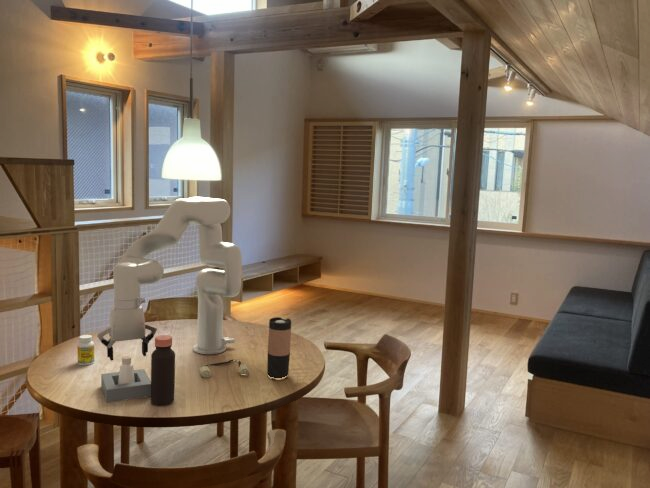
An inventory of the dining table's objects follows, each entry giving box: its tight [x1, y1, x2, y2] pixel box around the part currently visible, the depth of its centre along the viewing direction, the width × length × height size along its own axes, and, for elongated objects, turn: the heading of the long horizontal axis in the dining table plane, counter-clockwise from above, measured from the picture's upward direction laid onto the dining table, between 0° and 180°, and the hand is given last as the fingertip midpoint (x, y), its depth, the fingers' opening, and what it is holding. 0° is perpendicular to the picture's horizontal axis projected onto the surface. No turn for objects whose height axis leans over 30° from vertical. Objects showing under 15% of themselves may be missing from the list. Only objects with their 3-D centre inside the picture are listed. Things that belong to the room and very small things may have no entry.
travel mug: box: [266, 316, 292, 378], centre depth 189 cm, size 8×8×20 cm
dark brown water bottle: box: [150, 334, 176, 407], centre depth 164 cm, size 7×7×20 cm
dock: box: [100, 368, 151, 404], centre depth 171 cm, size 13×13×4 cm
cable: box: [199, 359, 250, 378], centre depth 193 cm, size 16×16×4 cm
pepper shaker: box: [118, 355, 135, 385], centre depth 170 cm, size 5×5×11 cm
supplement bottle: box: [77, 334, 95, 366], centre depth 191 cm, size 5×5×10 cm
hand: (127, 356), depth 170 cm, fingers open, 9 cm apart
